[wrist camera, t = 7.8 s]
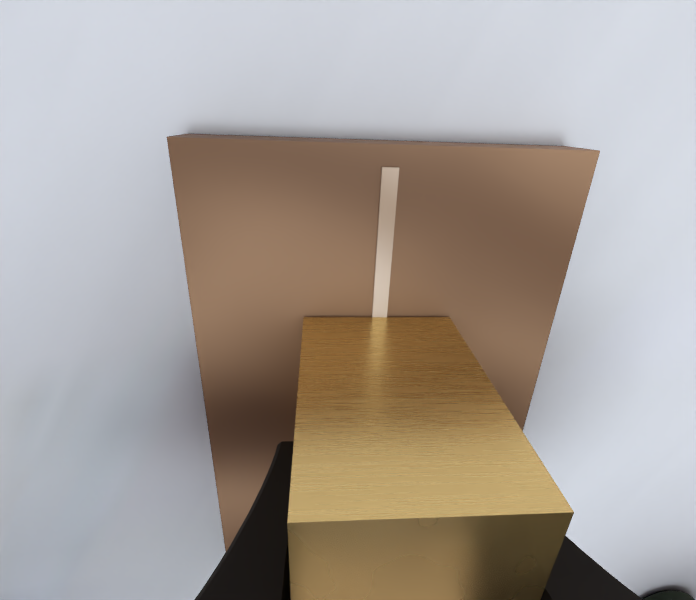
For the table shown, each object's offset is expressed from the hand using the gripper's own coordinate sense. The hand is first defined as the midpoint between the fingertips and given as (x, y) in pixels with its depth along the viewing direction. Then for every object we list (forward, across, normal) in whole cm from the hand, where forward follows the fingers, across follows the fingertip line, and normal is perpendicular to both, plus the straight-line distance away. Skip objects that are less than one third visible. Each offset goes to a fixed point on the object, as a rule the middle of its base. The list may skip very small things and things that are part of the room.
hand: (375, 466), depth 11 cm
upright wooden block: (+1, 0, 0) cm, 1 cm away
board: (+3, 0, +1) cm, 3 cm away
